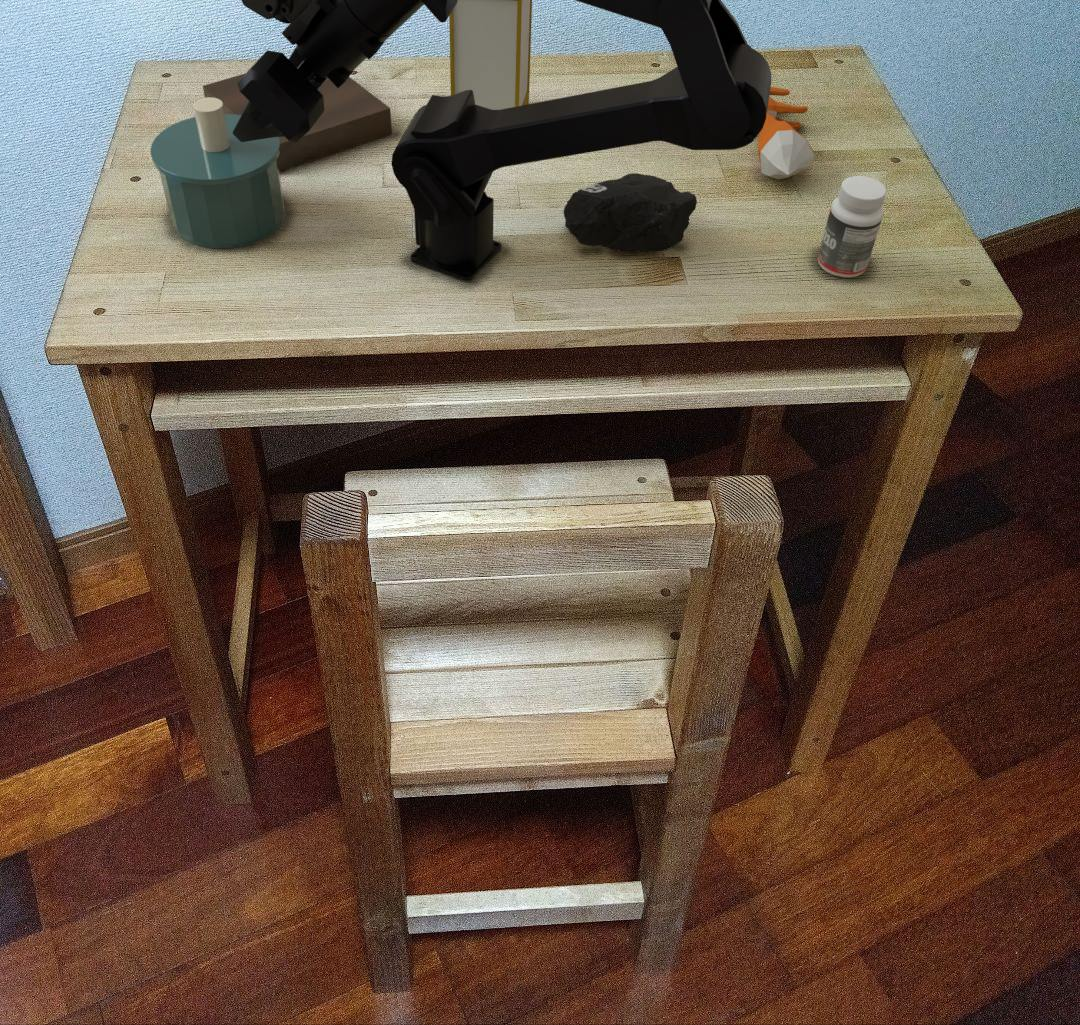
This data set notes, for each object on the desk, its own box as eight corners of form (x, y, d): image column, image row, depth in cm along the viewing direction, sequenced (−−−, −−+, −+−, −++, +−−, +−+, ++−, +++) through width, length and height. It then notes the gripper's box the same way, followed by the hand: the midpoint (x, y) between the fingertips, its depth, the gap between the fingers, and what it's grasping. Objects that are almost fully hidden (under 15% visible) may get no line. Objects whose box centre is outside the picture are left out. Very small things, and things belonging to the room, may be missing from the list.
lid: (300, 135, 108) (293, 83, 105) (251, 200, 101) (242, 146, 97) (186, 117, 110) (176, 65, 106) (130, 179, 102) (116, 125, 98)
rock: (621, 279, 106) (628, 225, 101) (555, 236, 110) (559, 182, 105) (693, 241, 111) (703, 188, 106) (627, 201, 115) (634, 148, 110)
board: (392, 134, 122) (390, 108, 119) (275, 173, 116) (271, 146, 113) (320, 77, 129) (317, 52, 127) (207, 111, 123) (202, 85, 121)
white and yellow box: (440, 158, 119) (433, -81, 101) (465, 100, 127) (462, -130, 110) (508, 167, 118) (513, -73, 101) (528, 108, 127) (536, -123, 109)
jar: (301, 196, 113) (292, 131, 108) (259, 257, 106) (247, 190, 101) (201, 179, 114) (188, 114, 109) (153, 238, 107) (136, 171, 102)
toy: (779, 42, 128) (662, 31, 123) (879, 142, 114) (751, 134, 109) (754, 110, 134) (641, 102, 128) (846, 213, 120) (723, 209, 114)
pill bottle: (813, 248, 110) (833, 171, 104) (862, 251, 110) (885, 174, 104) (820, 277, 107) (841, 199, 101) (870, 280, 107) (894, 202, 101)
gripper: (335, -123, 94) (231, -6, 103) (244, -34, 82) (135, 89, 91) (429, -12, 99) (321, 89, 108) (357, 87, 86) (242, 192, 96)
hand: (258, 111), depth 101 cm, fingers open, 9 cm apart
